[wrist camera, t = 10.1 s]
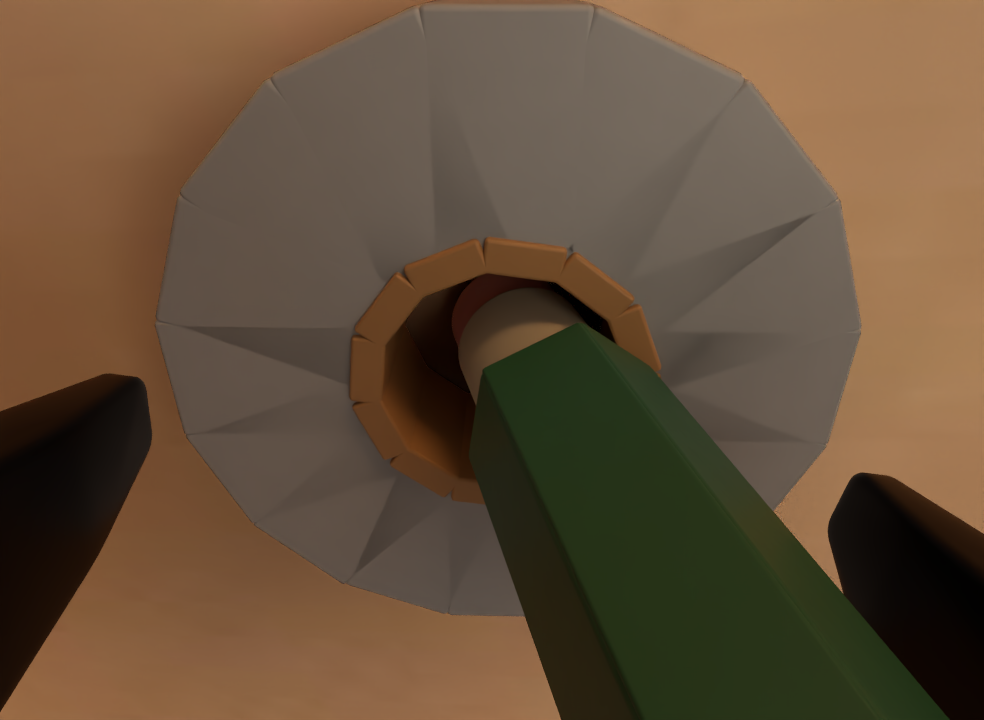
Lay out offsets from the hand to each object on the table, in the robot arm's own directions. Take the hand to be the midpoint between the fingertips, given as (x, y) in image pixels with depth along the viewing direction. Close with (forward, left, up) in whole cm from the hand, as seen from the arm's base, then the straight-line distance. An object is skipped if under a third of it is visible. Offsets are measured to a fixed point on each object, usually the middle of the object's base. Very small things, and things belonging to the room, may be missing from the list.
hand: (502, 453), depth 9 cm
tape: (0, 0, -4) cm, 4 cm away
